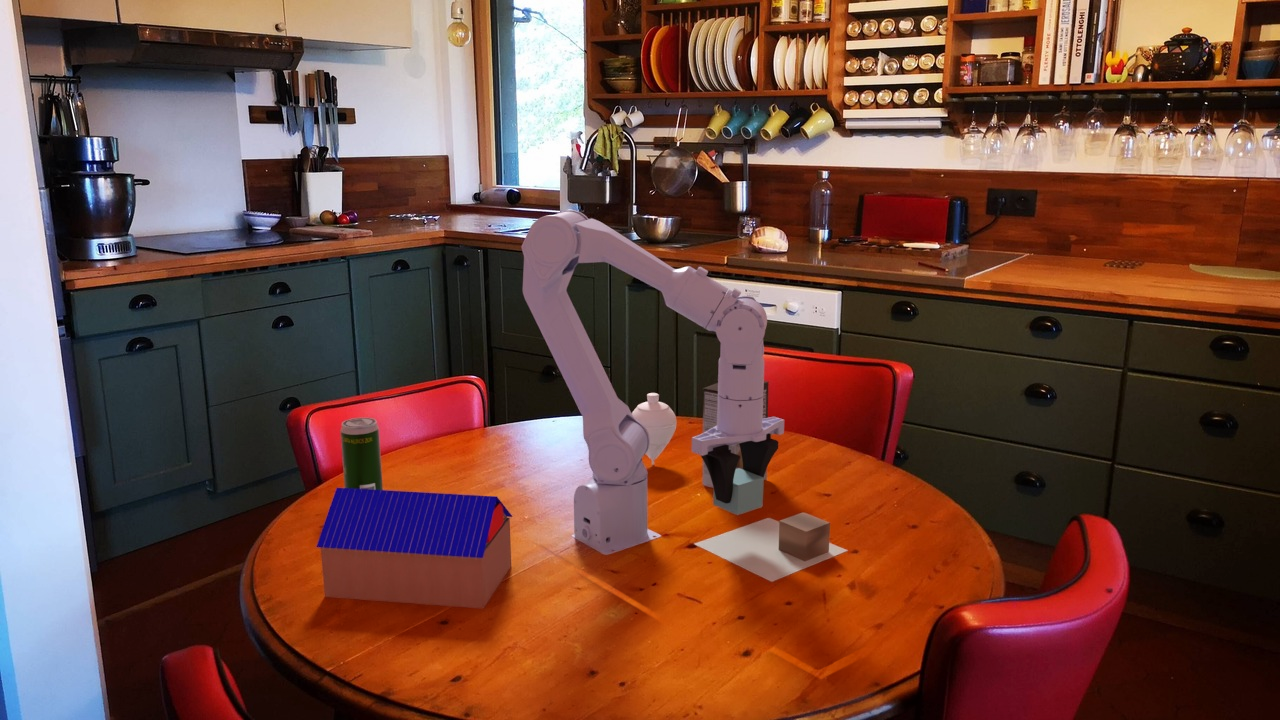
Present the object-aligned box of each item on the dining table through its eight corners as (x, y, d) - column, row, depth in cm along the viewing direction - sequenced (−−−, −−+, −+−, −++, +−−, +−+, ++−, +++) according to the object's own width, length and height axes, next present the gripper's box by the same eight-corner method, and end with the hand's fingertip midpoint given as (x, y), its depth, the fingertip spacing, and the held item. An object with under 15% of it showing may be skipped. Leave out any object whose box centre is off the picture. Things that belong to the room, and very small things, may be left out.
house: (364, 556, 125) (358, 470, 122) (514, 566, 122) (511, 478, 119) (321, 599, 113) (312, 506, 111) (485, 611, 110) (480, 516, 108)
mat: (771, 586, 116) (771, 581, 116) (693, 548, 126) (693, 543, 126) (847, 554, 124) (847, 550, 124) (768, 521, 135) (768, 517, 135)
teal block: (737, 515, 122) (738, 485, 121) (713, 504, 125) (713, 475, 124) (762, 506, 125) (763, 477, 124) (738, 496, 128) (738, 468, 127)
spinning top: (622, 461, 160) (621, 391, 157) (663, 454, 163) (663, 385, 160) (641, 475, 153) (641, 402, 150) (684, 468, 156) (685, 396, 153)
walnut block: (804, 561, 121) (806, 531, 120) (778, 549, 124) (779, 520, 123) (828, 551, 124) (830, 522, 123) (802, 540, 127) (803, 512, 126)
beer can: (389, 500, 143) (384, 423, 140) (354, 509, 140) (348, 430, 137) (374, 490, 147) (368, 415, 144) (340, 499, 144) (333, 421, 141)
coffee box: (732, 472, 154) (734, 374, 151) (767, 480, 151) (770, 381, 147) (700, 488, 147) (702, 387, 144) (736, 498, 144) (738, 393, 140)
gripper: (720, 411, 114) (717, 519, 117) (803, 392, 123) (798, 492, 126) (681, 399, 120) (679, 502, 123) (763, 381, 128) (760, 477, 131)
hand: (737, 496), depth 125 cm, fingers closed on teal block, 4 cm apart
